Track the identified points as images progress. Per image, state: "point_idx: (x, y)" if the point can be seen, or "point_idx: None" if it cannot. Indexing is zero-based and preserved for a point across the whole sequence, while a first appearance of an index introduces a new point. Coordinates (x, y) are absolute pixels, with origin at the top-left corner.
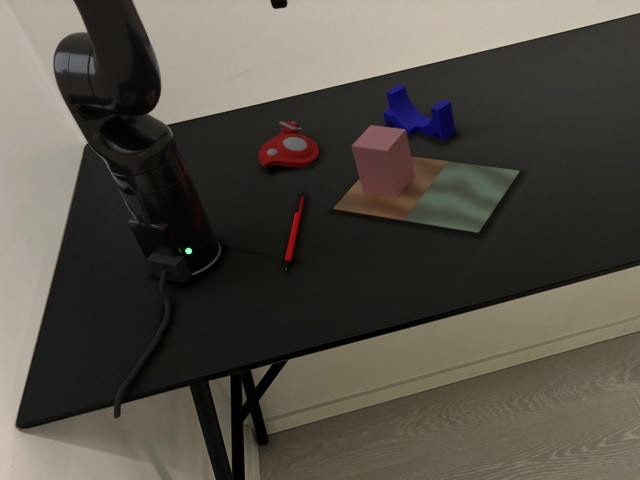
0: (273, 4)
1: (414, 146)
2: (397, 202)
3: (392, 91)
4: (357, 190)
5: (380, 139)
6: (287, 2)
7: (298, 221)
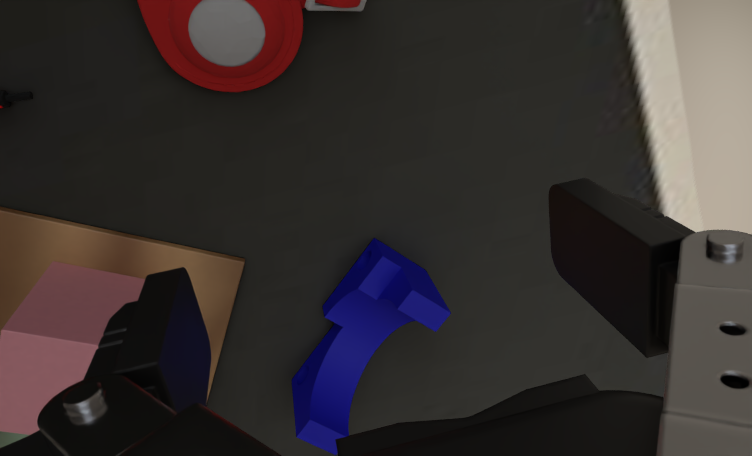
0: (114, 314)
1: (285, 320)
2: None
3: (412, 305)
4: (58, 245)
5: (47, 398)
6: (209, 359)
7: None
